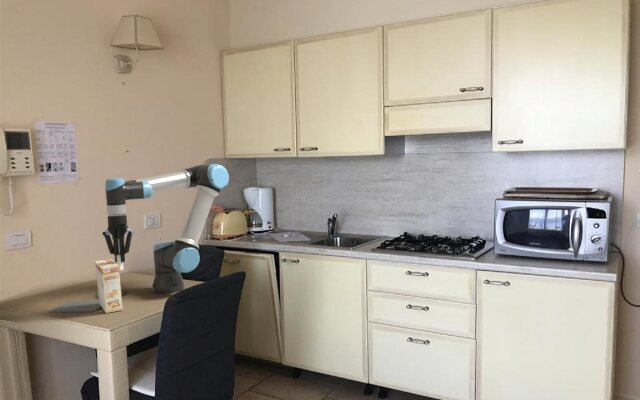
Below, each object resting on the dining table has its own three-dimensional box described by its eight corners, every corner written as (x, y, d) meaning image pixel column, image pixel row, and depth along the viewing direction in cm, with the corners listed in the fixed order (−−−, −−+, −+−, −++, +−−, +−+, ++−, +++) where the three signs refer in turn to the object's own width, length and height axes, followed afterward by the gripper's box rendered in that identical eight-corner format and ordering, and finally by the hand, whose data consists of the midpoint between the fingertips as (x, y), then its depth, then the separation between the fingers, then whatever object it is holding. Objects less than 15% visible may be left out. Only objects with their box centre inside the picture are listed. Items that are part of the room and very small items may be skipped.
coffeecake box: (123, 309, 217) (119, 264, 215) (105, 313, 214) (100, 268, 211) (115, 300, 230) (111, 258, 227) (98, 304, 226) (94, 260, 223)
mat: (110, 301, 232) (110, 300, 232) (94, 311, 217) (93, 310, 217) (67, 302, 233) (67, 301, 233) (48, 312, 219) (48, 311, 218)
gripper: (135, 213, 222) (139, 267, 223) (106, 214, 222) (109, 268, 224) (128, 215, 214) (131, 271, 216) (97, 216, 215) (101, 272, 216)
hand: (120, 269), depth 220 cm, fingers closed
